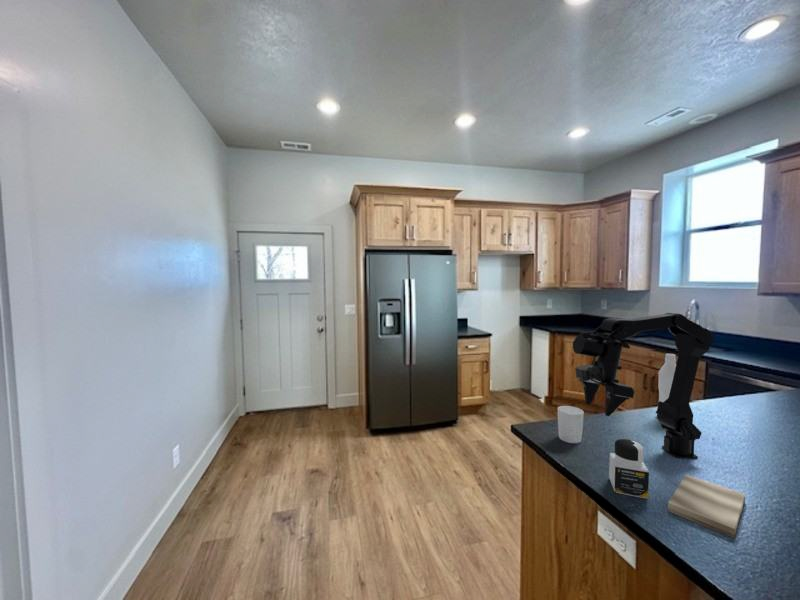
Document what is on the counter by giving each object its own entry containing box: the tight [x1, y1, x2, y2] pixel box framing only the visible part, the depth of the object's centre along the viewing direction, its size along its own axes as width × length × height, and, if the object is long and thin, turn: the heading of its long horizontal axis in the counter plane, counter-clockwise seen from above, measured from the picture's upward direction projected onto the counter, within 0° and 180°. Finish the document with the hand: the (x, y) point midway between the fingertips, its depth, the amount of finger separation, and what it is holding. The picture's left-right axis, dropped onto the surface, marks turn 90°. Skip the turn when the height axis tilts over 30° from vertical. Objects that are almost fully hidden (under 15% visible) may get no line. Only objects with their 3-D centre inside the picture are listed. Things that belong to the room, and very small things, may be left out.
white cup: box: [557, 405, 585, 444], centre depth 114 cm, size 8×8×10 cm
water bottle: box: [656, 353, 677, 410], centre depth 132 cm, size 7×7×25 cm
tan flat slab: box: [667, 474, 746, 539], centre depth 80 cm, size 18×11×2 cm, turn 130°
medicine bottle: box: [608, 438, 650, 500], centre depth 87 cm, size 7×7×12 cm
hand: (597, 409), depth 103 cm, fingers open, 9 cm apart
